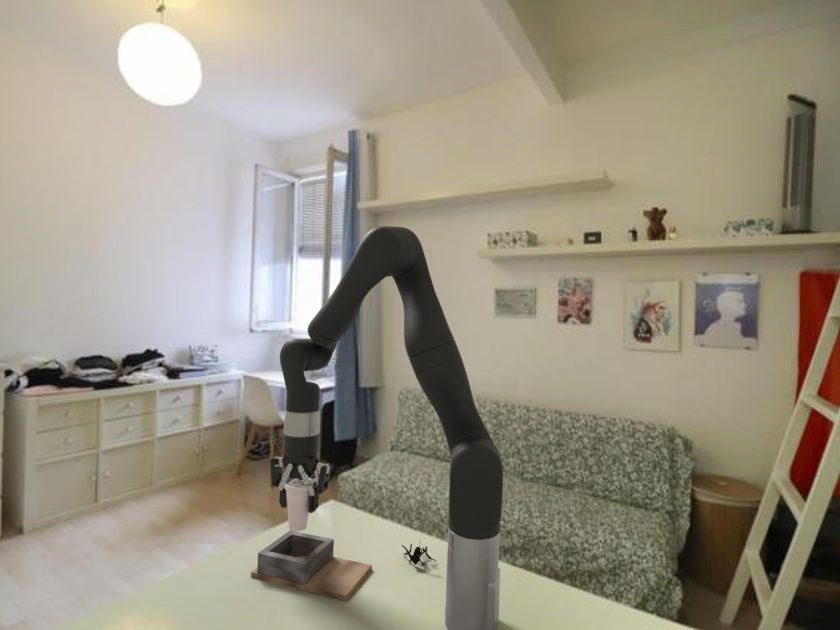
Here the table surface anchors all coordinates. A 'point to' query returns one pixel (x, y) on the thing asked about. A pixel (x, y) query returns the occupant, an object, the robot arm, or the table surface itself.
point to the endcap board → (309, 566)
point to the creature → (415, 557)
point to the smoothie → (297, 504)
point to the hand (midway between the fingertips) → (298, 508)
